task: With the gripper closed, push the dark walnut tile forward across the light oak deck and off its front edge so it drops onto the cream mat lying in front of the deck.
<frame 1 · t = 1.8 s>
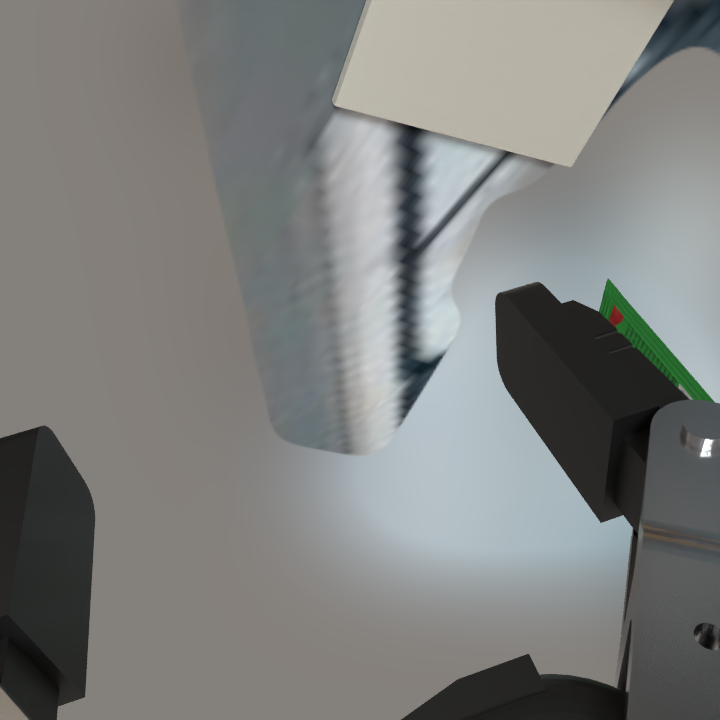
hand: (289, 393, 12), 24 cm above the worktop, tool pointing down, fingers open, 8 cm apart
cream mat: (512, 26, 34), on the worktop
tomato puree packet: (587, 345, 56), on the worktop
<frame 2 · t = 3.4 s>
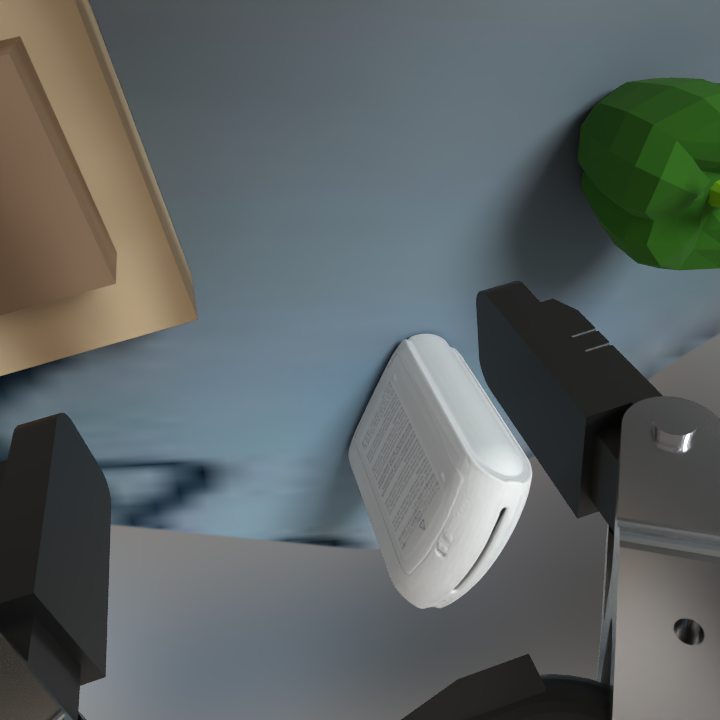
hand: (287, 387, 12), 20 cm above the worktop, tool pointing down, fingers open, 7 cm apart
bell pepper: (622, 135, 34), on the worktop
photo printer: (396, 398, 41), on the worktop
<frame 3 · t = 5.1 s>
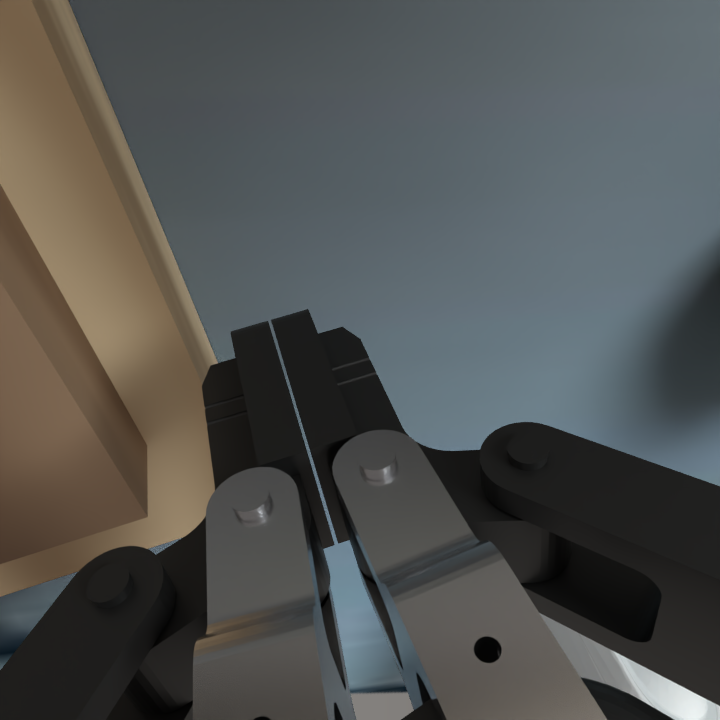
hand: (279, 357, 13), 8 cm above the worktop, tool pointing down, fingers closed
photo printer: (493, 537, 32), on the worktop
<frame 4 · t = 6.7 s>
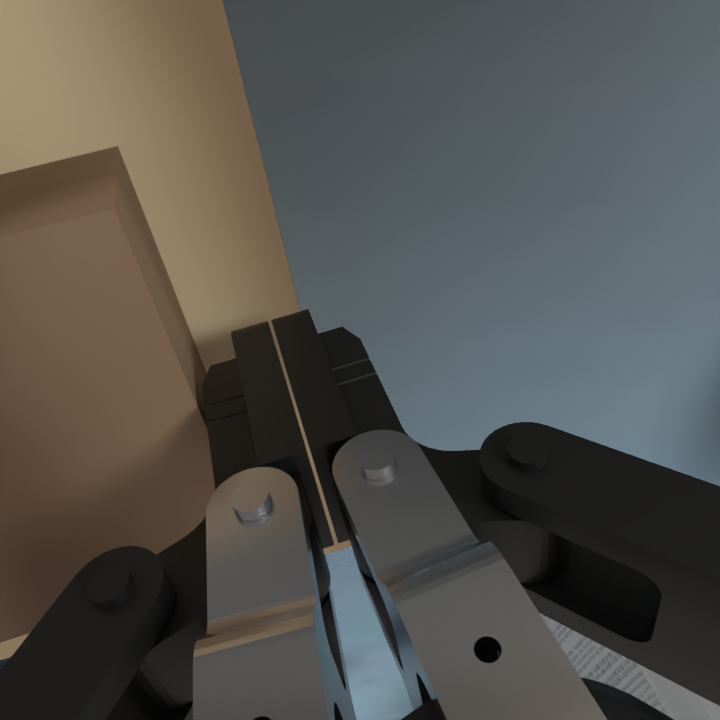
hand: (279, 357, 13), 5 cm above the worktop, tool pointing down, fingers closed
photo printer: (560, 563, 30), on the worktop
oak deck: (25, 290, 16), on the worktop
walnut tile: (34, 425, 12), point 5 cm above the worktop, touching gripper
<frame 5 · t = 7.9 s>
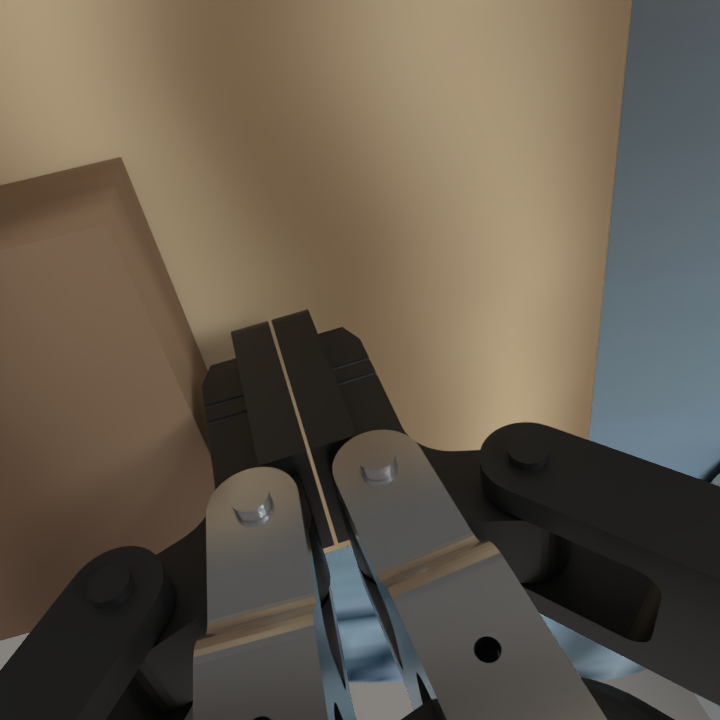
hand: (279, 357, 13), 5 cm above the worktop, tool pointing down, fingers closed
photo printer: (696, 516, 31), on the worktop
oak deck: (305, 216, 17), on the worktop
walnut tile: (37, 430, 12), point 5 cm above the worktop
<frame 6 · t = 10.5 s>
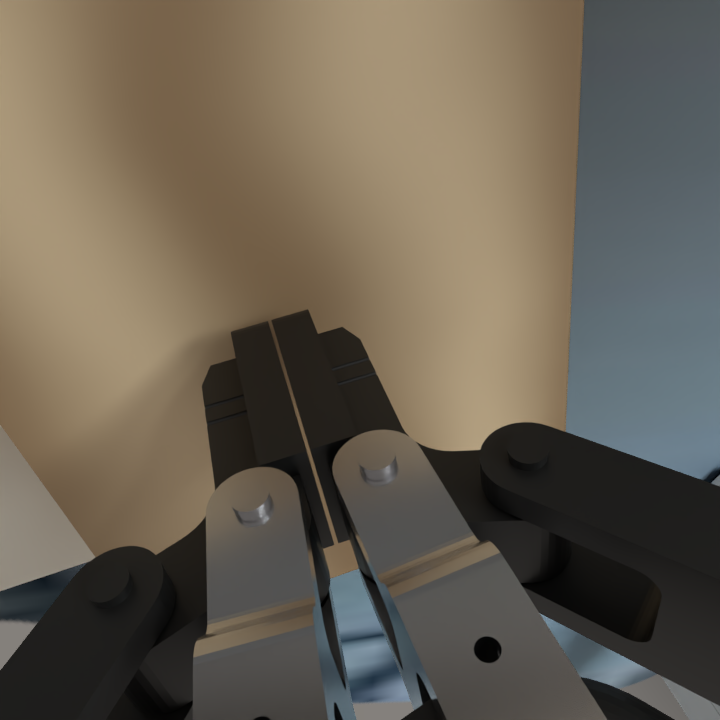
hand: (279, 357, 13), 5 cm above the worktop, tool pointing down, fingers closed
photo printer: (684, 530, 31), on the worktop
oak deck: (271, 254, 17), on the worktop
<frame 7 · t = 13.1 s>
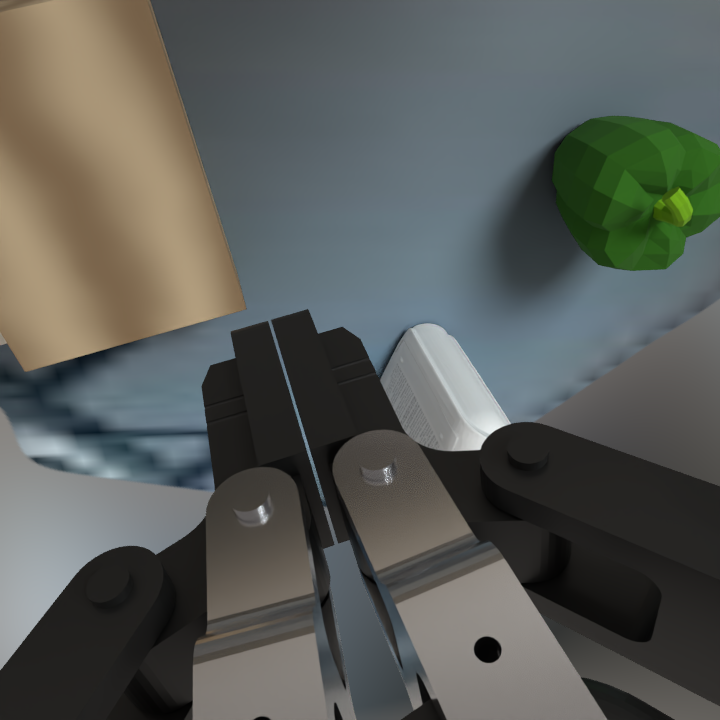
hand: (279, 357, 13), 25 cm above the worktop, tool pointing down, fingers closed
bell pepper: (589, 159, 41), on the worktop
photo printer: (402, 378, 48), on the worktop
oak deck: (80, 172, 34), on the worktop
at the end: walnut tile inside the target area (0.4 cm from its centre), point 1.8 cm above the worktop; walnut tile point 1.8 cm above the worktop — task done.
